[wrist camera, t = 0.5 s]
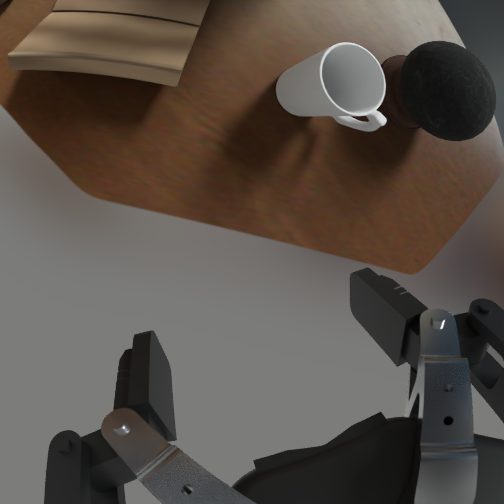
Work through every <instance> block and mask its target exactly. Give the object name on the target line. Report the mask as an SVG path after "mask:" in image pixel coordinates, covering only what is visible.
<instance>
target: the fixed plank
mask: <svg viewBox="0 0 504 504" xmlns="http://www.w3.org/2000/svg"><path fill="white" fill-rule="evenodd" d="M210 1H211V0H57V2H56V4H55V6H54V8H53V11H54V12H86V13H106V14H118V15H128V16H137V17H144V18H151V19H158V20H164V21H169V22H175V23H180V24H185V25H190V26H194V27H199V28H200V26H201V23H202V21H203V18H204V16H205V13H206V11H207V8H208V6H209V4H210Z"/></svg>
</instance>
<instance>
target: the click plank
mask: <svg viewBox="0 0 504 504" xmlns="http://www.w3.org/2000/svg"><path fill="white" fill-rule="evenodd" d="M198 30H199V27H194V26H190V25H185V24H180V23H175V22H169V21H164V20H158V19H151V18H144V17H137V16H128V15H118V14H106V13H86V12H52V13H50V14H49V15H48V16H47V17H46V18H45V19H44V20H43V21H42V22H41V23H40V24H39V25H38V26H37V27H36V28H35V29H34V30H33V31H32V32H31V33H30V34H29V35H28V36H27V37H26V38H25V39H24V40H23V41H22V42H21V43H20V44H19V45H18V46H17V47H16V48H15V49H14V51H13V52H10V53H9V54H8V59H9V64H10V69H11V70H51V71H68V72H81V73H91V74H100V75H109V76H116V77H123V78H130V79H136V80H142V81H148V82H154V83H159V84H164V85H169V86H174V87H177V85H178V82H179V79H180V77H181V74H182V71H183V69H184V66H185V63H186V61H187V58H188V56H189V53H190V51H191V48H192V46H193V43H194V41H195V38H196V35H197V32H198Z"/></svg>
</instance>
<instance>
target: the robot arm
mask: <svg viewBox="0 0 504 504" xmlns="http://www.w3.org/2000/svg"><path fill="white" fill-rule="evenodd" d="M350 307H351V311H352V313H353V315H354V317H355V318H356V319H357V321H358V322H359V323H360V324H361V325H362V326H363V327H364V329H365V330H366V331H367V332H368V333H369V334H370V335H371V337H373V339H374V340H375V341H376V342H377V343H378V345H379V346H380V347H381V348H382V349H383V350H384V351H385V353H386V354H387V355H388V356H389V357H390V358H391V360H392V361H393V362H394V363H395V364H396V366H397V367H398V366H400V365H402V364H404V363H405V362H408V363H409V364H410V367H409V373H408V389H407V400H406V408H405V413H404V417H394V418H388V419H386V418H385V417H384V415H383V414H382V413H381V412H380V413H377V414H375V415H373V416H371V417H369V418H367V419H365V420H363V421H361V422H358V423H356V424H354V425H352V426H351V427H349V428H348V429H347V430H345V431H344V432H343V433H341V434H340V435H338V436H337V437H336V438H334V439H333V440H331V441H330V442H328V443H327V444H325V445H323V446H318V447H311V448H304V449H296V450H287V451H284V452H281V453H277V454H274V455H271V456H268V457H264V458H260V459H257V460H254V464H255V467H256V468H255V469H254V470H252V471H250V472H248V473H247V474H245V475H244V476H243V477H241V478H240V479H239V480H238V481H237V482H236V483H235V484H234V485H233V486H232V487H230V486H229V485H227V484H226V483H224V482H223V481H221V480H220V479H218V478H217V477H216V476H214V475H213V474H211V473H210V472H209V471H207V470H206V469H205V468H203V467H202V466H201V465H199V464H198V463H197V462H195V461H194V460H193V459H192V458H190V457H189V456H188V455H187V454H185V453H184V452H183V451H182V450H180V449H179V448H178V447H176V446H175V445H174V446H172V445H171V444H170V443H169V441H175V440H177V439H176V429H175V419H174V406H173V393H172V377H171V369H170V365H169V362H168V359H167V357H166V355H165V353H164V351H163V349H162V347H161V345H160V343H159V341H158V338H157V336H156V334H155V332H154V331H147V332H143V333H139V334H135V335H134V339H133V347H132V349H128V350H125V352H124V354H123V355H122V357H121V358H120V361H119V367H118V371H119V372H118V375H117V382H116V391H115V400H114V410H113V411H112V412H111V413H109V414H108V415H107V416H106V417H105V418H104V420H103V422H102V425H101V429H100V430H97V431H95V432H93V433H90V434H88V435H86V436H83V437H80V436H79V435H78V434H77V433H76V432H74V431H70V430H66V431H62V432H60V433H58V434H57V435H56V436H55V437H54V438H53V439H52V441H51V443H50V446H49V451H48V460H47V470H46V481H45V497H44V498H45V499H44V504H126V503H125V492H124V484H125V483H128V482H130V481H133V480H135V479H138V480H139V481H140V482H141V483H142V484H143V485H144V486H145V487H146V488H147V489H148V490H149V491H150V492H151V493H152V494H153V495H154V496H155V497H156V498H157V499H158V500H159V501H160V502H161V503H162V504H504V440H502V439H496V438H492V437H487V436H482V435H478V434H474V433H473V406H472V392H471V383H472V385H473V386H474V387H475V389H476V390H477V391H478V392H479V393H480V394H481V395H482V397H483V398H484V399H485V400H486V402H487V403H488V404H489V405H490V406H491V408H492V409H493V410H494V411H495V413H496V414H497V415H498V416H499V418H500V419H501V420H502V422H503V423H504V368H503V367H502V366H501V365H500V364H499V363H498V362H497V361H496V360H495V359H494V358H493V357H492V356H491V355H490V354H489V353H488V352H487V349H488V347H489V345H491V346H492V347H493V348H494V349H495V350H496V351H497V352H498V353H499V354H500V355H501V356H502V358H503V360H504V310H503V309H502V308H501V307H500V306H498V305H497V304H496V303H494V302H493V301H491V300H488V299H476V300H474V301H472V303H471V304H470V308H469V311H468V312H467V313H462V314H458V315H452V314H451V313H450V312H449V311H447V310H444V309H441V308H431V309H428V308H427V307H426V306H425V305H424V304H422V303H421V302H420V301H419V300H418V299H416V298H415V297H414V296H413V295H411V294H410V293H409V292H407V290H405V289H404V288H403V287H401V286H400V285H399V284H398V283H397V282H395V281H394V280H393V279H391V278H388V277H385V276H383V275H381V276H378V275H377V274H376V273H375V272H374V271H372V270H371V269H370V268H365V269H362V270H359V271H356V272H353V273H352V274H351V275H350Z"/></svg>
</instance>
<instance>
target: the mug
mask: <svg viewBox="0 0 504 504" xmlns="http://www.w3.org/2000/svg"><path fill="white" fill-rule="evenodd" d="M385 89H386V84H385V77H384V73H383V70H382V68H381V66H380V64H379V62H378V61H377V60H376V58H375V57H374V56H373V55H372V54H371V53H370V52H369V51H368V50H366V49H365V48H363V47H361V46H359V45H357V44H353V43H339V44H335V45H333V46H332V47H330V48H327V49H325V50H323V51H321V52H319V53H317V54H315V55H313V56H311V57H309V58H308V59H306V60H304V61H302V62H300V63H298V64H296V65H294V66H293V67H291V68H290V69H288V70H286V71H285V72H284V73H282V74H281V76H280V77H279V79H278V81H277V84H276V95H277V98H278V101H279V103H280V104H281V106H282V107H283V108H284V109H285V110H286V111H288V112H289V113H291V114H293V115H296V116H332V117H333V118H334V119H335V120H336V121H337V122H338V123H339V124H342V125H345V126H348V127H351V128H354V129H358V130H362V131H369V132H370V131H375V130H377V129H378V128H379V127H380V126H383V125H385V123H386V121H387V120H386V118H385V117H384V116H383V115H382V114H381V113H380V112H378V111H377V109H378V108H379V106H380V105H381V103H382V101H383V99H384V96H385ZM351 116H366V117H367V118H368V119H369V122H362V121H359V120H356V119H354V118H353V117H351Z"/></svg>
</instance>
